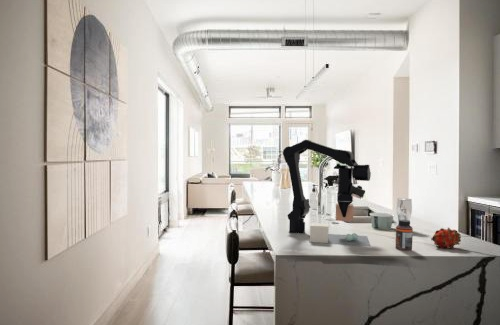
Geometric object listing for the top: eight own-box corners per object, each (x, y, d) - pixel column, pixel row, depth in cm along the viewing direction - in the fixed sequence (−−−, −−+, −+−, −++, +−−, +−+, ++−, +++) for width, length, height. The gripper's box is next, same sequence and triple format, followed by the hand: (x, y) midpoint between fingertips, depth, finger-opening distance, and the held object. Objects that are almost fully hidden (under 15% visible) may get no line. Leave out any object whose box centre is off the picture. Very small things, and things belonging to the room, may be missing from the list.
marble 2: (350, 241, 169) (350, 233, 169) (350, 239, 172) (350, 232, 172) (358, 241, 169) (358, 234, 169) (357, 240, 172) (358, 232, 172)
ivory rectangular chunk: (309, 241, 167) (310, 225, 167) (311, 238, 174) (311, 222, 174) (328, 242, 165) (328, 226, 165) (328, 239, 172) (328, 223, 172)
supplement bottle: (392, 248, 160) (393, 219, 159) (407, 248, 160) (408, 219, 160) (399, 251, 154) (400, 221, 154) (415, 251, 154) (415, 221, 154)
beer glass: (412, 231, 197) (413, 200, 197) (397, 230, 199) (398, 199, 198) (409, 228, 204) (410, 198, 204) (395, 228, 206) (395, 198, 205)
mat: (308, 243, 165) (308, 242, 165) (311, 233, 186) (311, 232, 186) (370, 247, 160) (370, 246, 160) (367, 237, 181) (367, 236, 181)
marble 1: (345, 241, 168) (345, 234, 168) (344, 240, 171) (345, 233, 170) (352, 242, 167) (352, 235, 167) (352, 240, 170) (352, 233, 170)
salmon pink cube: (335, 220, 175) (335, 205, 175) (335, 217, 182) (336, 203, 182) (353, 221, 174) (353, 206, 174) (352, 218, 181) (352, 204, 181)
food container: (389, 230, 199) (389, 216, 199) (365, 227, 206) (365, 214, 206) (397, 227, 209) (397, 214, 208) (374, 224, 216) (374, 212, 216)
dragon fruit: (463, 252, 162) (433, 256, 161) (453, 236, 169) (424, 240, 168) (468, 237, 157) (437, 241, 156) (457, 221, 163) (427, 225, 163)
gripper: (365, 181, 167) (364, 220, 167) (363, 179, 185) (362, 213, 185) (337, 180, 169) (336, 218, 169) (337, 178, 187) (336, 212, 188)
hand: (344, 215), depth 178 cm, fingers closed on salmon pink cube, 7 cm apart
